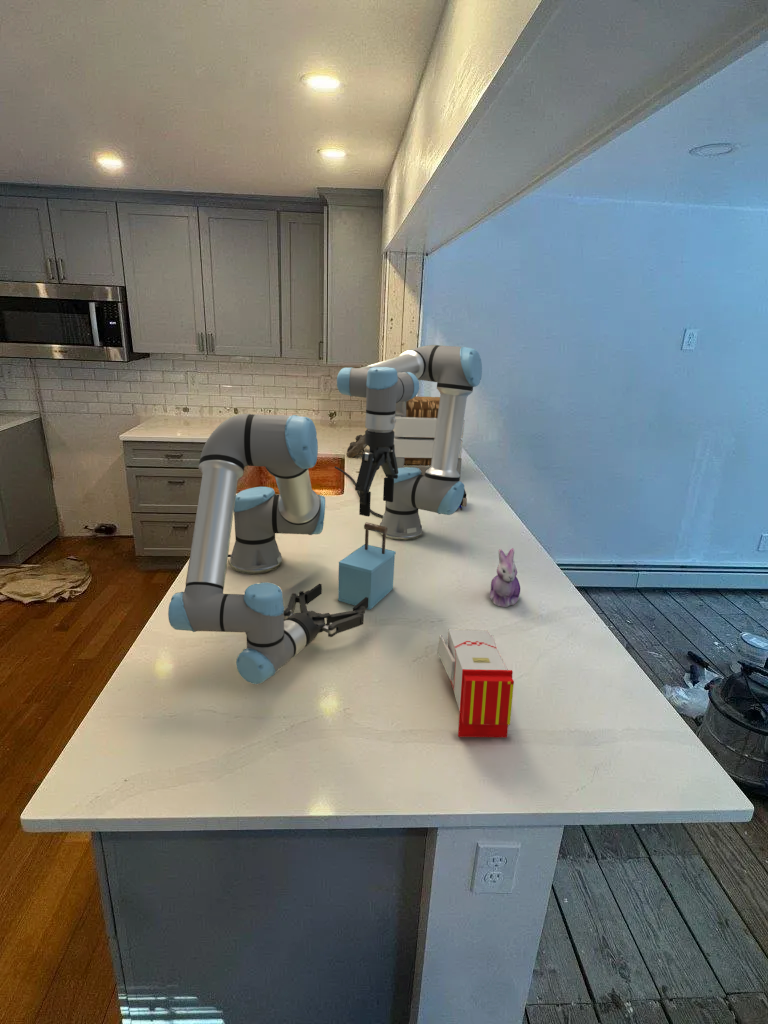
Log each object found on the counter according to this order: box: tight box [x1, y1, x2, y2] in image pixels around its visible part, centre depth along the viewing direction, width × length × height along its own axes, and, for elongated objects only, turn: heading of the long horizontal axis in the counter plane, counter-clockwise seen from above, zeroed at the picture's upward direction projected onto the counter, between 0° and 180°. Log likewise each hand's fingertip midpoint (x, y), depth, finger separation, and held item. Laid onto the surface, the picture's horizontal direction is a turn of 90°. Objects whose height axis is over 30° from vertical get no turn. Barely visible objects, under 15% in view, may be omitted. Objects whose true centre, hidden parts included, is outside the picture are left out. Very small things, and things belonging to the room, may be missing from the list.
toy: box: [437, 628, 515, 738], centre depth 117 cm, size 12×13×30 cm
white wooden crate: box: [393, 395, 465, 481], centre depth 268 cm, size 34×33×41 cm
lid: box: [338, 521, 396, 573], centre depth 152 cm, size 14×10×9 cm
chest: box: [337, 554, 396, 611], centre depth 155 cm, size 14×10×11 cm
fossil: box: [346, 434, 369, 458], centre depth 305 cm, size 22×10×15 cm
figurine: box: [489, 547, 521, 608], centre depth 154 cm, size 9×10×15 cm
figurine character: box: [458, 488, 468, 511], centre depth 230 cm, size 7×8×15 cm
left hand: (343, 595), depth 143 cm, fingers open, 13 cm apart
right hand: (376, 508), depth 152 cm, fingers open, 13 cm apart
